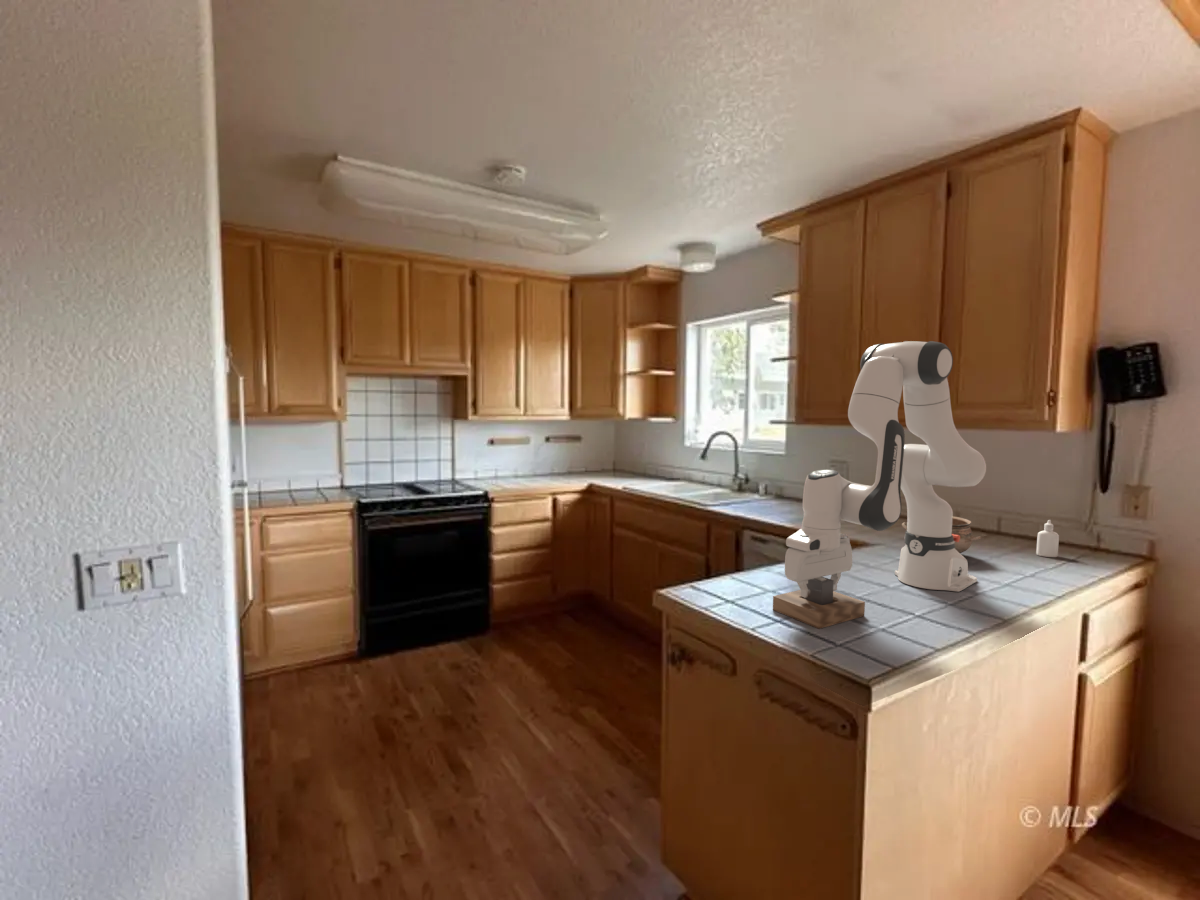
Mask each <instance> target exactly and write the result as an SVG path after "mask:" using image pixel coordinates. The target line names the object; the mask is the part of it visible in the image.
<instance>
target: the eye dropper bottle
mask: <svg viewBox="0 0 1200 900" xmlns="http://www.w3.org/2000/svg"><path fill="white" fill-rule="evenodd" d="M1059 541H1060V535H1059V534H1058V532H1056V531H1054V524H1053V523H1052V520H1051V519H1048V520H1047V522H1046V523H1044V524H1043V530H1041V531H1039V532H1037V538H1036V551H1035V554H1036V555H1037V556H1039V557H1046V558H1057V557H1058V556H1059V543H1060V542H1059Z"/></svg>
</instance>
